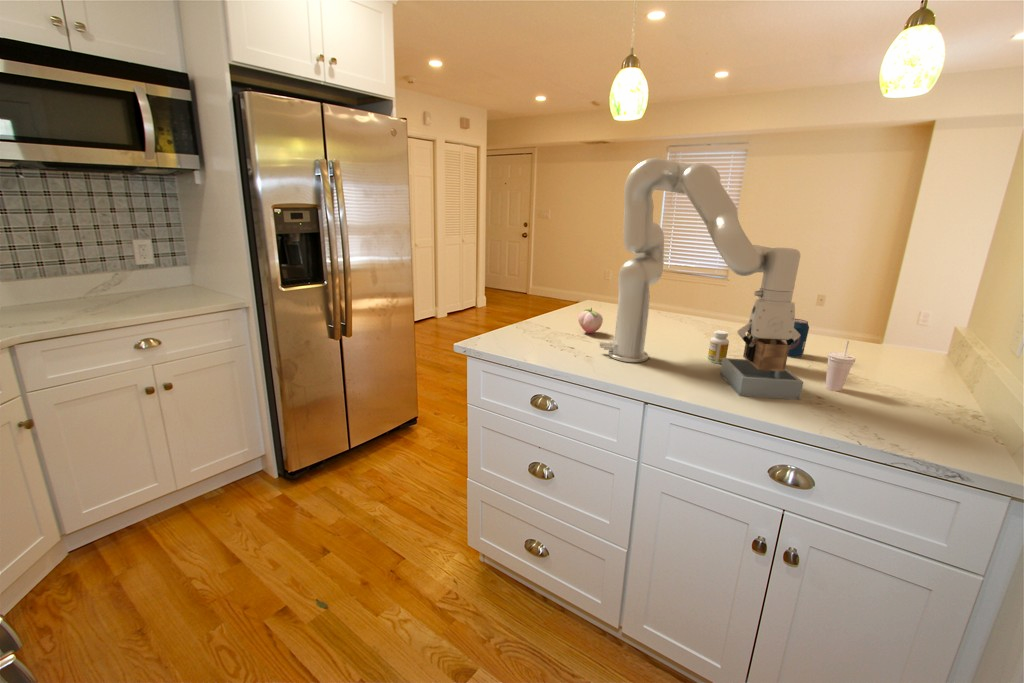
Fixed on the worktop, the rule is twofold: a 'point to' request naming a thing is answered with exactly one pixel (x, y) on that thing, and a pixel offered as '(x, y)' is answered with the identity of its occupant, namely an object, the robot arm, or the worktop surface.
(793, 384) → the grey crate
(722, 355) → the supplement bottle
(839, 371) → the smoothie
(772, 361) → the walnut crate
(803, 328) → the soda can
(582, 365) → the worktop surface
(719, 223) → the robot arm
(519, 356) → the worktop surface
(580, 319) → the decorative fruit
